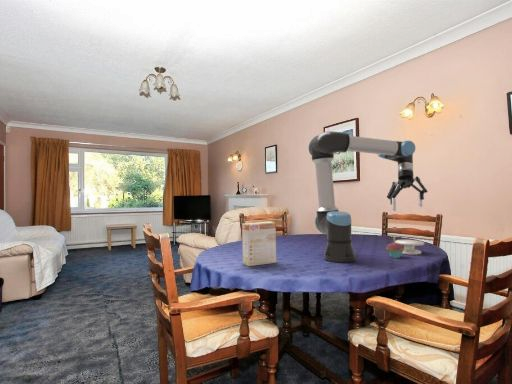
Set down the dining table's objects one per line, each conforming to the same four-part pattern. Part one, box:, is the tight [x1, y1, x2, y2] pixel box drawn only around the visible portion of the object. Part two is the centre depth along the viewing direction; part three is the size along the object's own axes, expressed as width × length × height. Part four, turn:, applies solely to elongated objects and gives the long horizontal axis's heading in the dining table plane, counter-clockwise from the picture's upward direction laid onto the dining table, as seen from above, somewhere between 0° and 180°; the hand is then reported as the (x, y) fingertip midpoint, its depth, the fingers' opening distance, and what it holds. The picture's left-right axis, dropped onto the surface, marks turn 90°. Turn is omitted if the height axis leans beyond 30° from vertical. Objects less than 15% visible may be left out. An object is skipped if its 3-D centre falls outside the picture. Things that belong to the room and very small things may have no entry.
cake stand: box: [395, 239, 425, 256], centre depth 164 cm, size 14×14×6 cm
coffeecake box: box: [241, 220, 277, 267], centre depth 144 cm, size 15×7×20 cm, turn 115°
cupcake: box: [385, 234, 404, 259], centre depth 153 cm, size 9×8×12 cm
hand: (406, 207), depth 157 cm, fingers open, 13 cm apart
